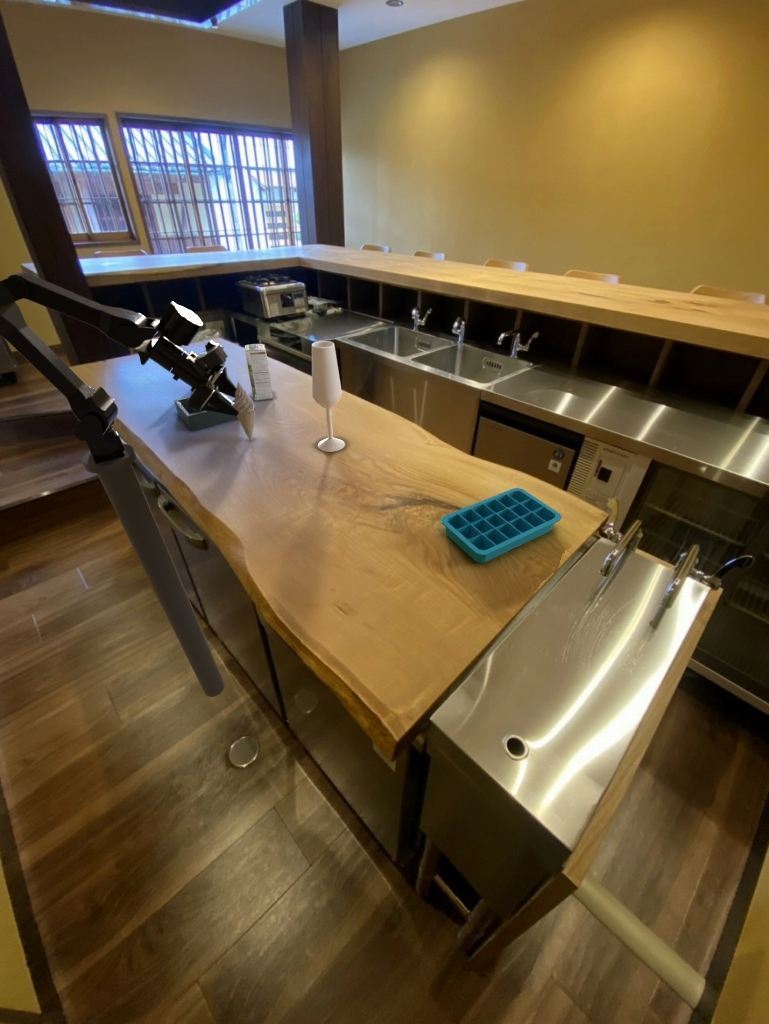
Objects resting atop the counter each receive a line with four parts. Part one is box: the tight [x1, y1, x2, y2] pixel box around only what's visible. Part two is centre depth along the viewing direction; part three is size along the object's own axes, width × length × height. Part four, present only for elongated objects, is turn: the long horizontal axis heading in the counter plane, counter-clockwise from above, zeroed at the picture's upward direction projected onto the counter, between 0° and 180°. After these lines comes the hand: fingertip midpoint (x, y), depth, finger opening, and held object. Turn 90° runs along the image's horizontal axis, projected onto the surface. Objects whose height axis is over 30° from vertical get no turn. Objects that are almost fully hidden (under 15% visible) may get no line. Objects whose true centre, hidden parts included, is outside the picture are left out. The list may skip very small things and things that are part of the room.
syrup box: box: [244, 343, 274, 401], centre depth 123 cm, size 6×6×14 cm
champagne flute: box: [311, 340, 346, 453], centre depth 97 cm, size 7×7×24 cm
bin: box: [173, 392, 238, 432], centre depth 115 cm, size 13×13×4 cm
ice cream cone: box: [232, 381, 256, 442], centre depth 101 cm, size 5×5×15 cm
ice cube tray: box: [440, 487, 563, 564], centre depth 78 cm, size 12×20×3 cm, turn 121°
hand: (240, 406), depth 100 cm, fingers open, 9 cm apart
